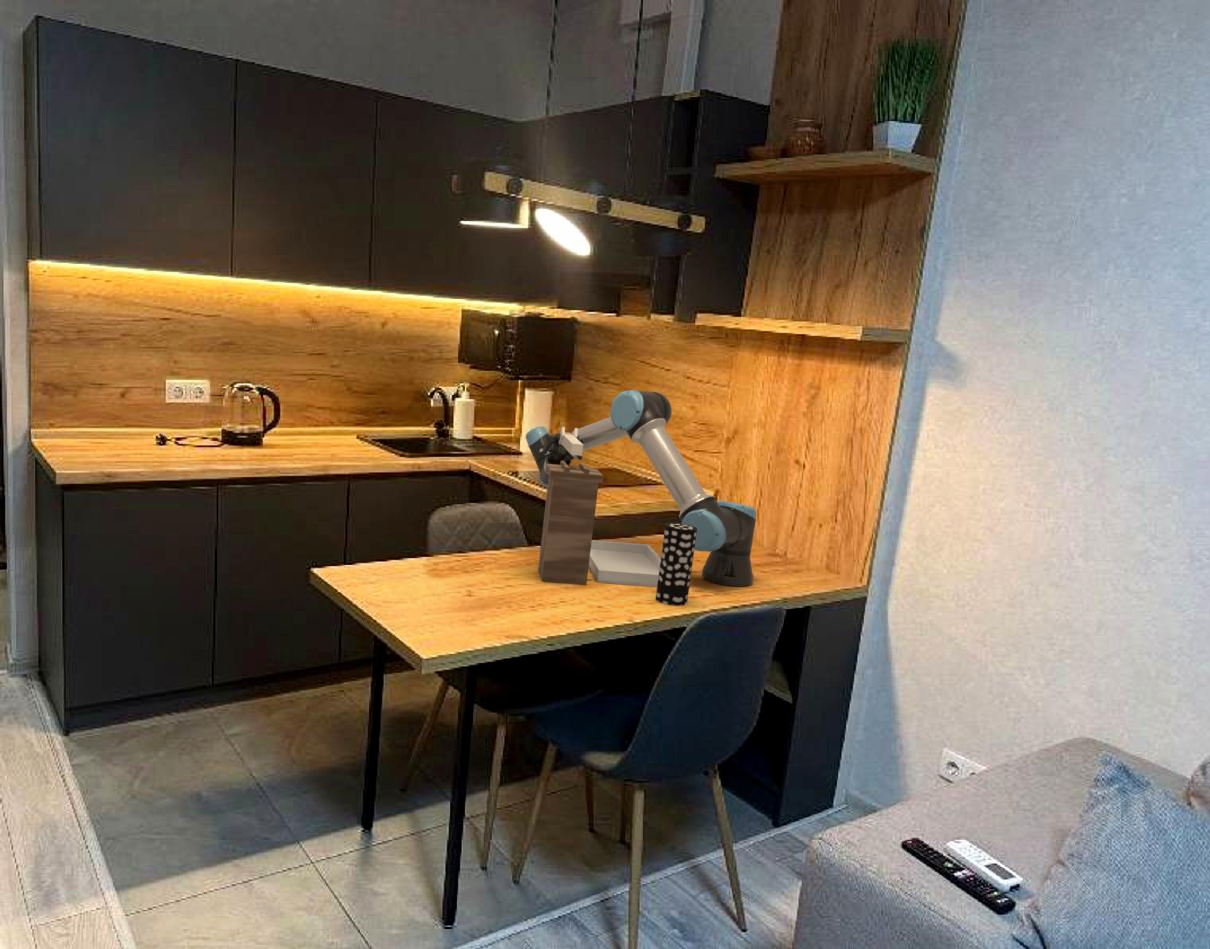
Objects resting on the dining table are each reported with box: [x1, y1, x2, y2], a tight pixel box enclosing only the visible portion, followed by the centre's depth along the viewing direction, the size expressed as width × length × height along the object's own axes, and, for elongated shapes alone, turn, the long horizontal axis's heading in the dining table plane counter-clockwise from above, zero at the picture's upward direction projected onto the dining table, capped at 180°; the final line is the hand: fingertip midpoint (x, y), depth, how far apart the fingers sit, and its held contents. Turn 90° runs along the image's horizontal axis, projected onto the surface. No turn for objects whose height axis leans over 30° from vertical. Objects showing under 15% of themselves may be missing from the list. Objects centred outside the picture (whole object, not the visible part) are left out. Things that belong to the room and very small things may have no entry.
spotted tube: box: [655, 522, 697, 607], centre depth 241 cm, size 8×8×20 cm
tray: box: [588, 539, 661, 588], centre depth 272 cm, size 38×22×4 cm, turn 9°
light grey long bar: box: [561, 432, 584, 457], centre depth 261 cm, size 28×3×3 cm, turn 9°
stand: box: [537, 461, 604, 586], centre depth 251 cm, size 13×14×31 cm
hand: (569, 431), depth 265 cm, fingers closed on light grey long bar, 3 cm apart
